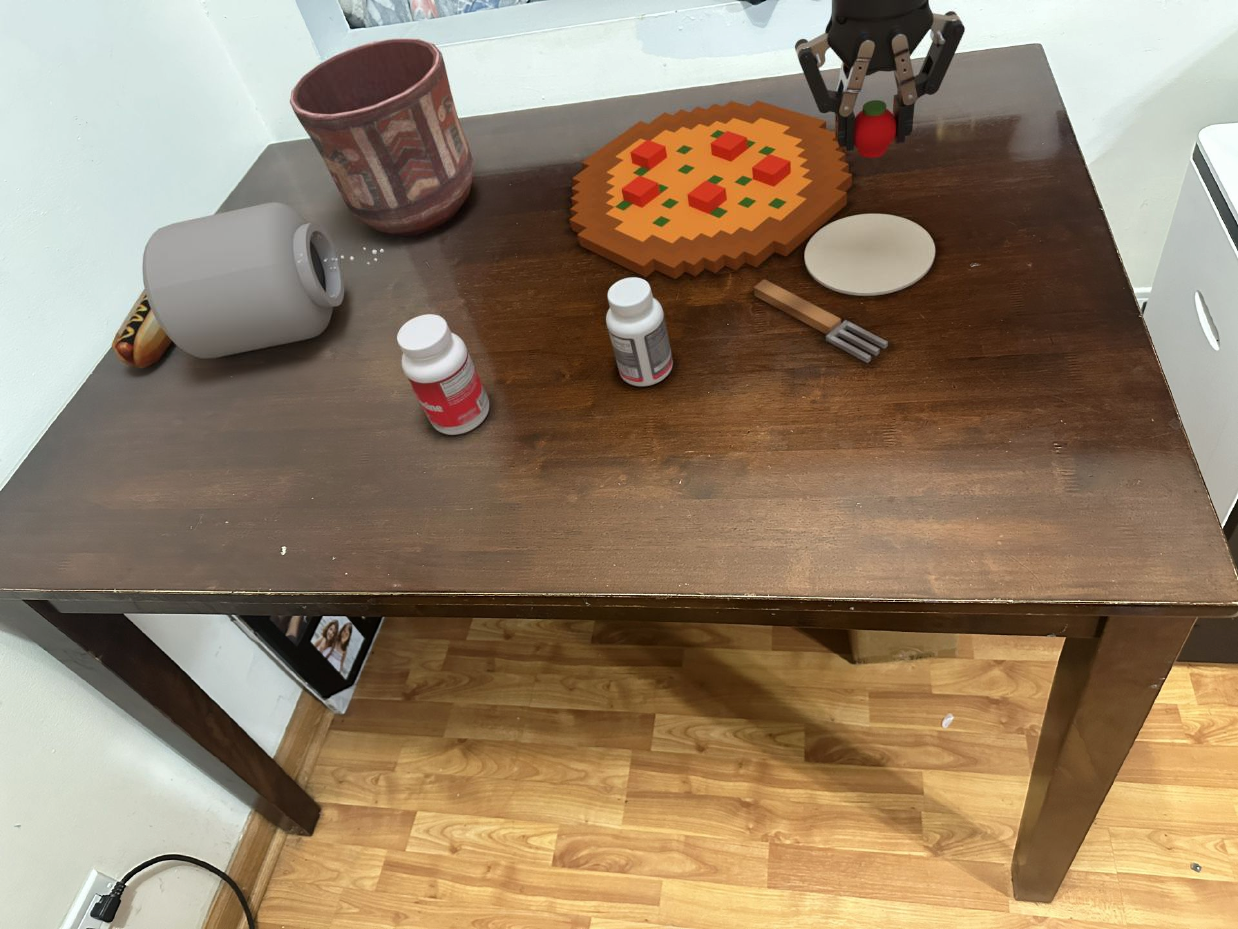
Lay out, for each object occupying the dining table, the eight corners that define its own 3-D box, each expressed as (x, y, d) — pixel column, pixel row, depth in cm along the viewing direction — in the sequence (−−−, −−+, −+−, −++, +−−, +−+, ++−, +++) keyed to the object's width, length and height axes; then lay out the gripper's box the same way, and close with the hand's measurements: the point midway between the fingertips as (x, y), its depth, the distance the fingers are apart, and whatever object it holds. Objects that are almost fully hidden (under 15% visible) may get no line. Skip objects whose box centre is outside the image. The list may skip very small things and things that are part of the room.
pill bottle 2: (665, 343, 87) (650, 265, 79) (679, 378, 83) (665, 300, 76) (614, 358, 87) (594, 282, 79) (625, 394, 83) (606, 317, 76)
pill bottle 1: (421, 413, 87) (377, 332, 78) (472, 382, 88) (435, 298, 80) (449, 447, 83) (406, 365, 75) (502, 413, 85) (466, 329, 76)
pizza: (719, 313, 88) (716, 290, 86) (522, 217, 106) (515, 195, 103) (902, 155, 99) (904, 131, 97) (696, 92, 117) (693, 70, 115)
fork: (749, 299, 89) (748, 290, 88) (769, 284, 89) (768, 275, 89) (867, 363, 80) (868, 354, 79) (887, 346, 81) (888, 336, 80)
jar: (228, 238, 106) (405, 189, 99) (257, 357, 108) (433, 318, 101) (99, 225, 88) (303, 165, 81) (137, 368, 90) (340, 322, 83)
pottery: (420, 267, 103) (359, 128, 89) (328, 233, 112) (259, 101, 98) (514, 185, 111) (471, 46, 97) (421, 159, 119) (369, 28, 106)
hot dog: (206, 299, 107) (184, 266, 104) (165, 375, 99) (138, 343, 95) (171, 303, 108) (147, 271, 104) (126, 378, 100) (99, 347, 96)
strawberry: (869, 133, 81) (870, 89, 78) (904, 145, 79) (907, 101, 76) (840, 153, 80) (841, 110, 77) (876, 167, 78) (878, 122, 74)
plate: (859, 202, 95) (859, 199, 95) (962, 245, 88) (962, 241, 88) (778, 263, 91) (778, 260, 91) (878, 313, 84) (878, 310, 83)
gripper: (795, -23, 64) (800, 179, 77) (993, -62, 63) (964, 151, 76) (781, -61, 69) (788, 135, 82) (965, -99, 67) (942, 108, 80)
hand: (873, 142), depth 79 cm, fingers closed on strawberry, 4 cm apart
